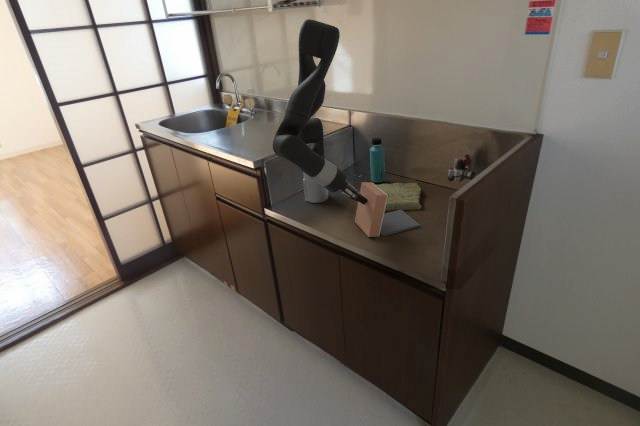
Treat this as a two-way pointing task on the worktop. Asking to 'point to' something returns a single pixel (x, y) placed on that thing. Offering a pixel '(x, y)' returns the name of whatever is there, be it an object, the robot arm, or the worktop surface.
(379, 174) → the beverage bottle
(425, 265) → the worktop surface
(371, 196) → the terracotta tile
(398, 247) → the worktop surface
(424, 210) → the worktop surface
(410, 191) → the decorative tile
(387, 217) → the mat
